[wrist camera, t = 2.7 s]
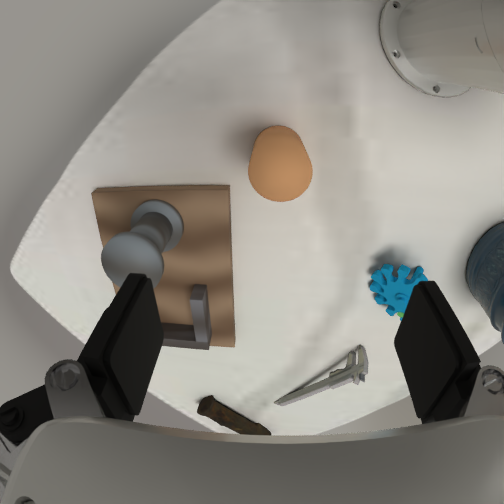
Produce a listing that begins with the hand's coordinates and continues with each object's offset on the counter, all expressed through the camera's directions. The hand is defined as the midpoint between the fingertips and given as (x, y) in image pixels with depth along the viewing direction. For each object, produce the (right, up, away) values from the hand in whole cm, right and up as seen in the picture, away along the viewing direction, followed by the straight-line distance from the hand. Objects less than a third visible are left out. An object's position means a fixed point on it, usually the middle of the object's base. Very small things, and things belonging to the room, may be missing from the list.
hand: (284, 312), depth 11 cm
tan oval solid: (+2, +12, +20) cm, 24 cm away
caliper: (+9, -19, +39) cm, 44 cm away
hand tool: (-3, -30, +47) cm, 56 cm away
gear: (+18, -2, +28) cm, 33 cm away
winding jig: (-11, 0, +29) cm, 31 cm away
